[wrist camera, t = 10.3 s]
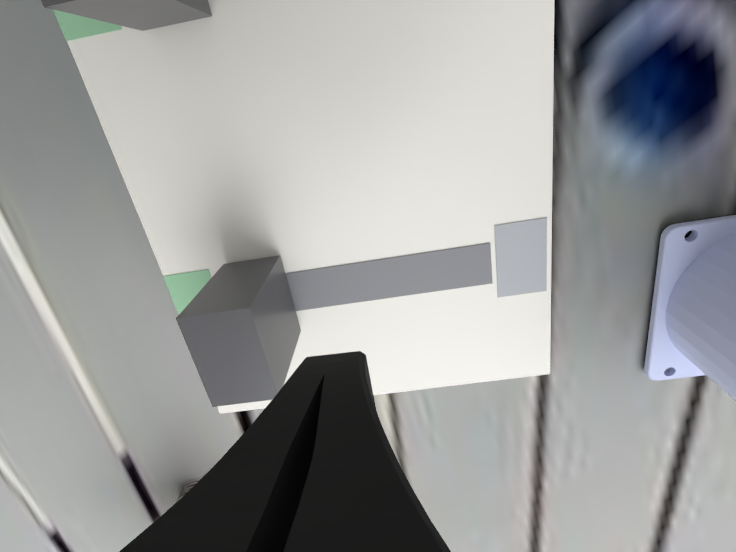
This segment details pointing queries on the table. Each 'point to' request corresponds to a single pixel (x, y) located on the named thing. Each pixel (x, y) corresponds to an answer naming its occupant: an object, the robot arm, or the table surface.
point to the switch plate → (349, 170)
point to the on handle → (242, 331)
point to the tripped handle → (135, 11)
